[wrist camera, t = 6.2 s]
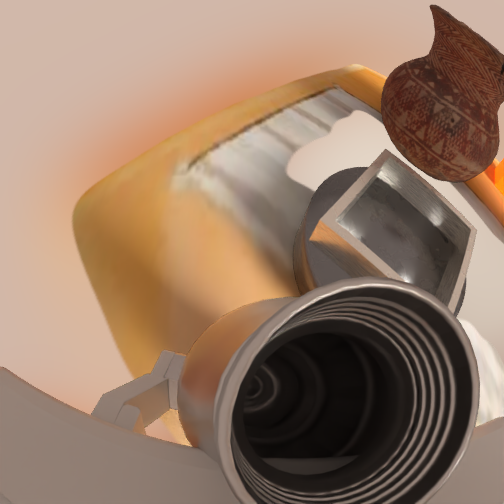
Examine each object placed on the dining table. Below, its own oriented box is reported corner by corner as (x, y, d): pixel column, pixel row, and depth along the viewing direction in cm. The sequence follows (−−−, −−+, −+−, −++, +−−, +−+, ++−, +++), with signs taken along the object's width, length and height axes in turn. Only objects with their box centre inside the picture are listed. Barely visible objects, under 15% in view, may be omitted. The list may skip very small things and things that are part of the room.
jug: (474, 221, 31) (566, 115, 9) (365, 163, 33) (439, 1, 11) (453, 142, 41) (505, 56, 19) (368, 97, 43) (407, -7, 21)
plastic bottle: (216, 342, 22) (160, 148, 4) (296, 354, 22) (502, 234, 4) (202, 415, 19) (72, 556, 1) (285, 427, 19) (481, 534, 1)
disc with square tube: (349, 173, 32) (373, 125, 25) (461, 271, 27) (502, 242, 20) (252, 268, 25) (262, 219, 18) (403, 399, 20) (461, 396, 13)
